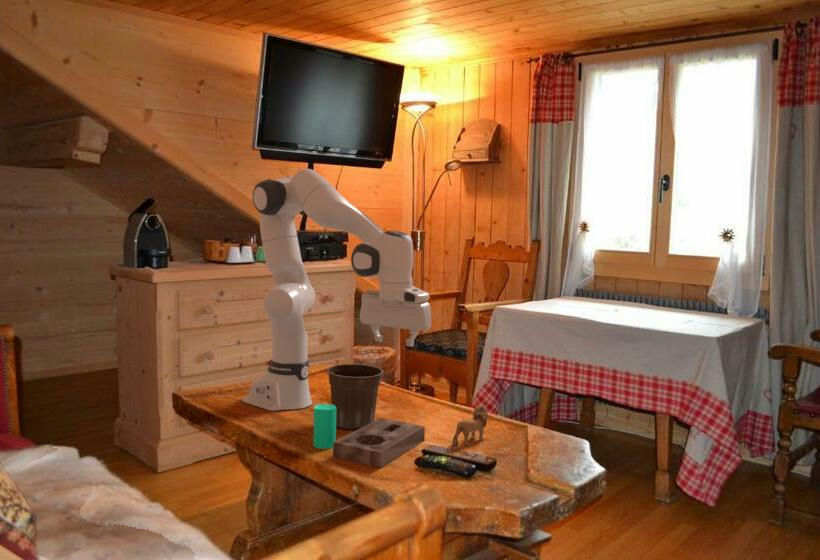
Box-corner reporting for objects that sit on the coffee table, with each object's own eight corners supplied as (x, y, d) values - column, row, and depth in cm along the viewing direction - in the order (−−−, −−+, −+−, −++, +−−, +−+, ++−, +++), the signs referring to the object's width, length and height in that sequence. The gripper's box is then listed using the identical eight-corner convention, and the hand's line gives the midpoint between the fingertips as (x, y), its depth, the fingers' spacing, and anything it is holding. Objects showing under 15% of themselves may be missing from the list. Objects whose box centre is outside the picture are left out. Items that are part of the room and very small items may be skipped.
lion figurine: (474, 433, 198) (475, 402, 197) (491, 437, 195) (492, 406, 194) (447, 447, 186) (449, 414, 185) (465, 451, 183) (466, 418, 182)
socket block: (332, 457, 176) (333, 442, 175) (380, 431, 197) (380, 417, 197) (380, 468, 169) (381, 452, 169) (424, 440, 191) (424, 426, 190)
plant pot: (389, 419, 209) (390, 366, 207) (370, 435, 193) (372, 379, 192) (338, 413, 213) (339, 361, 212) (317, 428, 198) (318, 373, 196)
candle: (331, 449, 181) (332, 405, 180) (310, 447, 182) (310, 403, 181) (338, 442, 187) (339, 399, 186) (317, 440, 188) (318, 397, 187)
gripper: (356, 290, 186) (354, 341, 187) (424, 297, 177) (422, 350, 178) (368, 288, 192) (366, 337, 193) (435, 294, 182) (433, 346, 184)
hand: (394, 343), depth 186 cm, fingers open, 8 cm apart
